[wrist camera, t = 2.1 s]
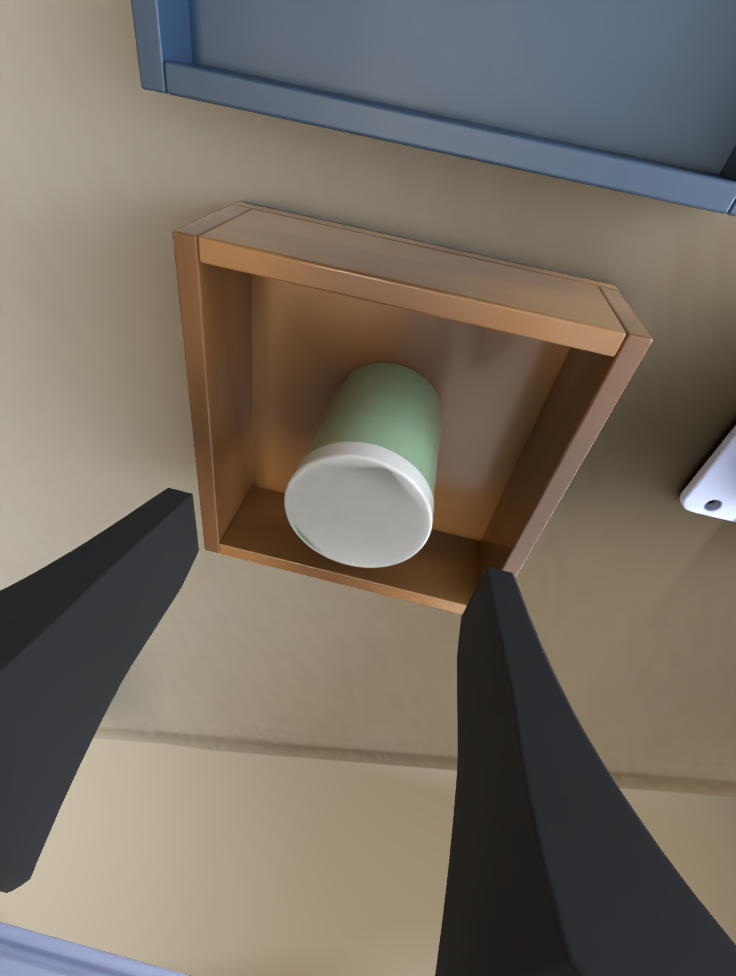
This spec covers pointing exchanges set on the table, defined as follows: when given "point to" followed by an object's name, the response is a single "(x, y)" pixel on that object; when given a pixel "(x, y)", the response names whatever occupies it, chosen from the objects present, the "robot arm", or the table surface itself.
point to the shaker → (370, 469)
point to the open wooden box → (401, 340)
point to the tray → (478, 80)
